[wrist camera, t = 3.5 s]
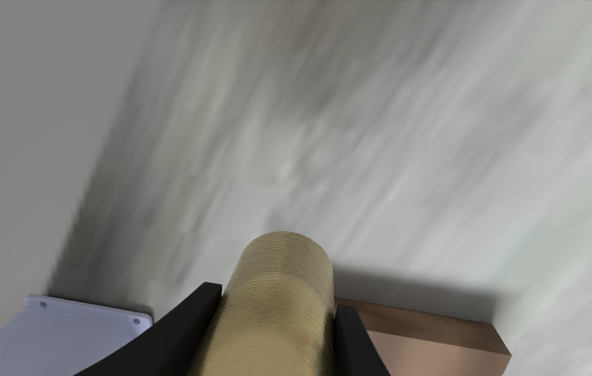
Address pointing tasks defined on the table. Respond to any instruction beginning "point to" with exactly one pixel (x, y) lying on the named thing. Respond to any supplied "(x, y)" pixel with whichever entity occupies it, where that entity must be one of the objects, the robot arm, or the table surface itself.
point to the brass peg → (273, 313)
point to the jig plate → (431, 342)
